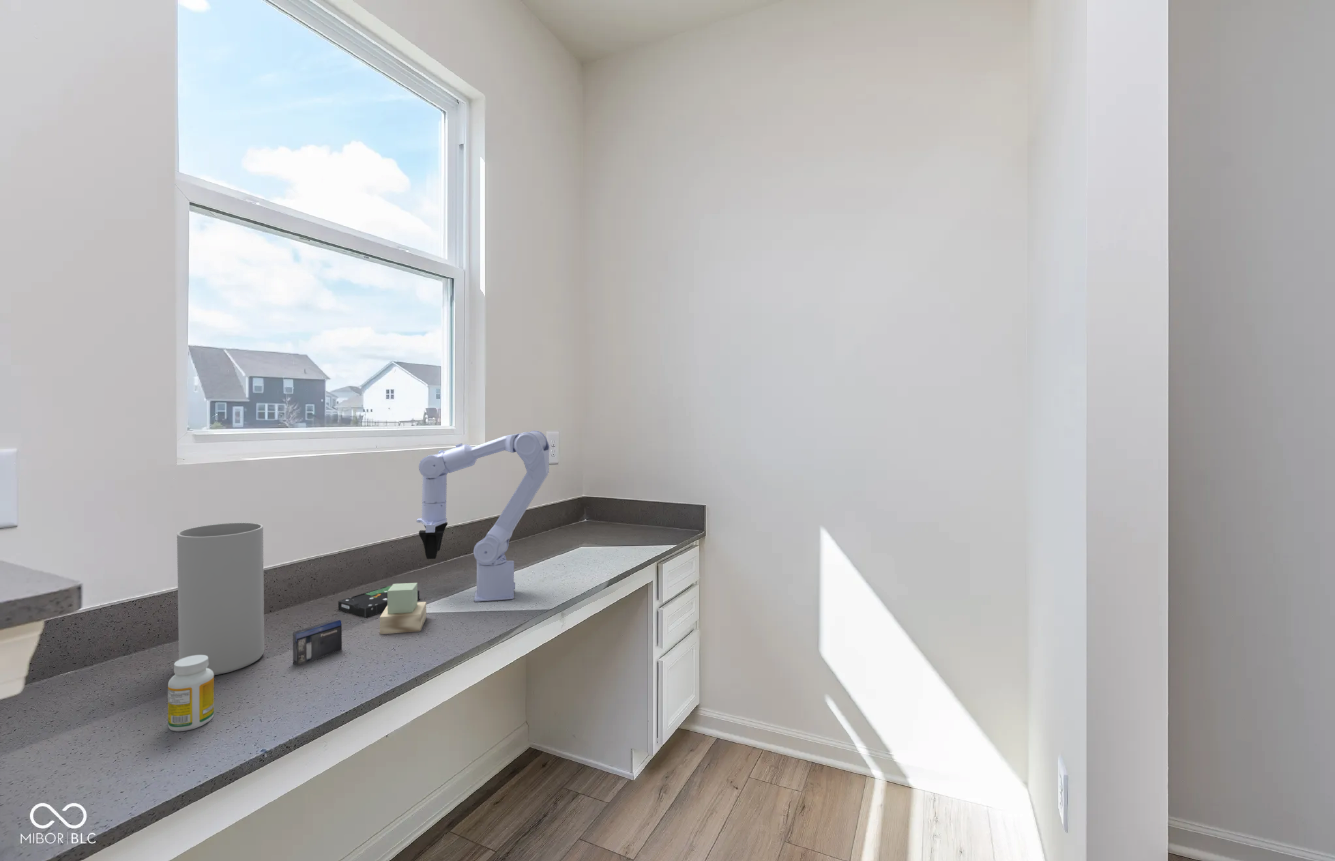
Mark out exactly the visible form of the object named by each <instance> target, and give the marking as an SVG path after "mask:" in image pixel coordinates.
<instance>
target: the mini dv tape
mask: <svg viewBox="0 0 1335 861" xmlns="http://www.w3.org/2000/svg"><path fill="white" fill-rule="evenodd" d="M342 626H343V625H342V620H341V619H338V618H335V619H332V620H329V621H326V622H322V623H318V624H315V625H312V626H309V627H306V628H302V629H299V630H296V631H293V632H292V663H293V665H295V666H300V665H302V664H305V663H309V662H312V661H315V660H318V659H319V658H322V657H326V656H328V655H331V654H334V653H337V652H339V651H342V650H343V647H342V646H343V640H342V639H343V636H342V635H343V634H342V633H343V632H342V631H343V630H342Z"/></svg>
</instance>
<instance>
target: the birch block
mask: <svg viewBox="0 0 1335 861" xmlns="http://www.w3.org/2000/svg"><path fill="white" fill-rule="evenodd" d="M380 614H381V615H380V616H379V635H387V634H388V635H389V634H398V633H413V632H414V633H415V632H421V631H422V628H423V626H424V624H425V621H426V619H427V601H417V606H416V608H415V609H414V611H413V613H395V614H388V605H387V607H386V608H385V610H384V611H383V612H381V613H380Z"/></svg>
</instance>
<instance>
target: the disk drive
mask: <svg viewBox="0 0 1335 861" xmlns="http://www.w3.org/2000/svg"><path fill="white" fill-rule="evenodd" d="M391 586H392V585H388V586H383V587H380V588H377V589H374V590H373V589H372V590H371V591H370V590H369V591H367V592H363V593H361V594H356V595H353V596H350V597H347V598H343V599H340V600H338V601H337V606H338V607H337V608H338V609H337V610H338V611H340V612H344V613H347V614H351V615H354V616H358V617H362V618H368V617H372V616H375V615H377V614H378V615H379V614H382V613H383V611H384V610H385V608H386V607H387V605H388V590H389V589H390V587H391ZM418 600H420V590H418V592H417V601H418Z"/></svg>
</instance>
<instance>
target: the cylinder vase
mask: <svg viewBox="0 0 1335 861" xmlns="http://www.w3.org/2000/svg"><path fill="white" fill-rule="evenodd" d="M176 545H177V546H176V553H177V554H176V555H177V556H176V558H177V559H176V560H177V562H176V563H177V616H178V618H177V619H178V620H177V622H178V624H177V625H178V628H177V629H178V631H177V632H178V660H180V659H182V658H185V657H189V656H194V655H206V656H208V663H209V665H208V667H207V668H209V669H211V670H212V671H213V673H214V676H218V675H223V674H228V673H231V672H234V671H238V670H241V669H243V668H246V667H248V666H250V665H252V664H254V663H255V662H257V661H259V660H260V659H261V657H262V656H263V655H264V652H265V594H264V593H265V591H264V584H265V582H264V525H263V524H261V523H258V522H228V523H217V524H206V525H201V526H195V527H194V526H193V527H190V528H186V529H183V530H182V529H181V530H180V531H178V532H176Z"/></svg>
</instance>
